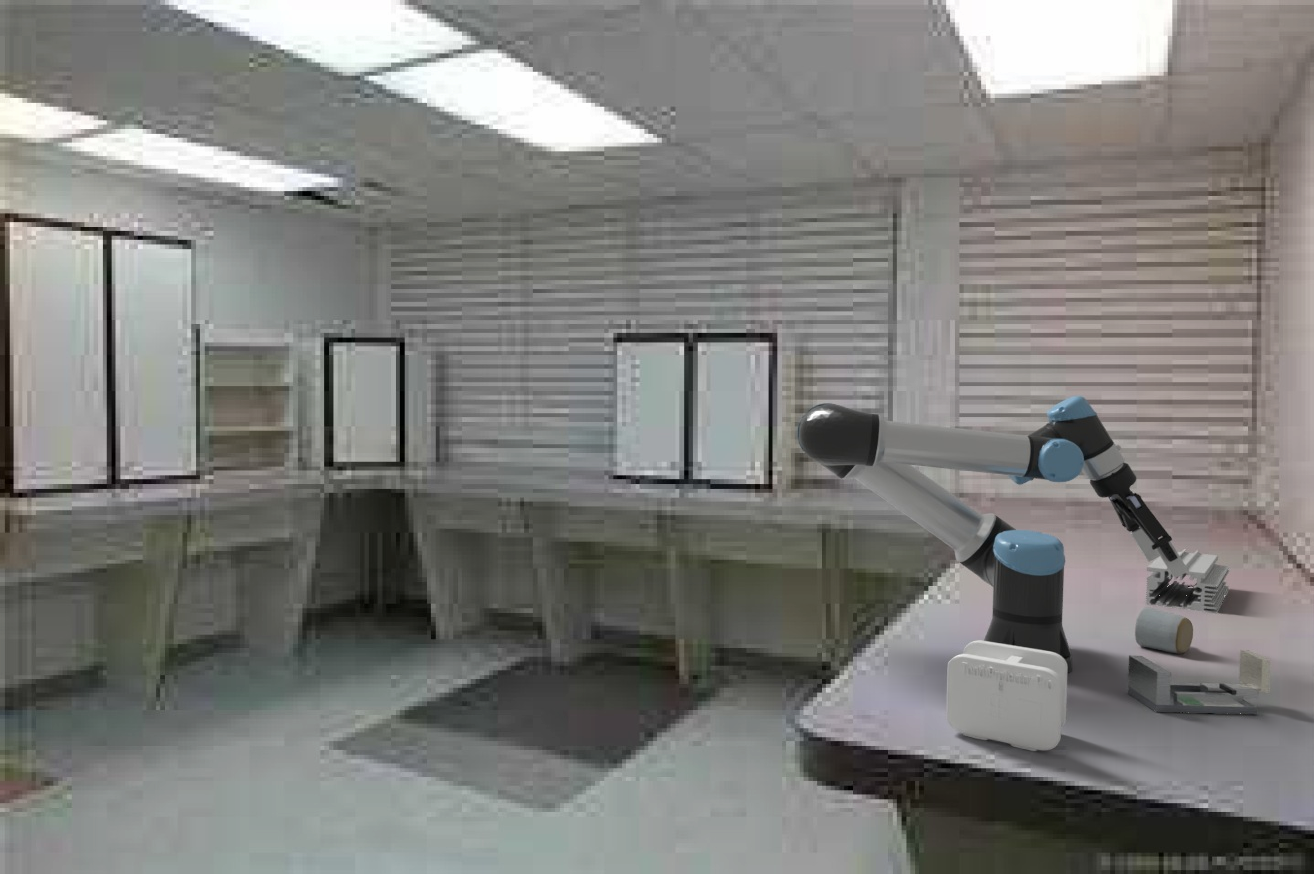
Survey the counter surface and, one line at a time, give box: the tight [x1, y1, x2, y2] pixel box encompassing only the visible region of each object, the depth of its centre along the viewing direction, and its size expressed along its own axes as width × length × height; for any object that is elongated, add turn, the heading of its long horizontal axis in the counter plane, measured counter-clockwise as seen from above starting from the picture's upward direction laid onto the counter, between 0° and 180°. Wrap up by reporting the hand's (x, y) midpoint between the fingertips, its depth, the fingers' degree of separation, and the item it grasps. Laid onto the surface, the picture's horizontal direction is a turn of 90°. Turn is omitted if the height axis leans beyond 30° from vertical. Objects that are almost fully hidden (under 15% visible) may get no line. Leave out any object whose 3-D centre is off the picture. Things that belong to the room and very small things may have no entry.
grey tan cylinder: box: [1134, 606, 1194, 655], centre depth 172 cm, size 11×8×8 cm
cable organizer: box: [945, 639, 1068, 752], centre depth 126 cm, size 15×11×12 cm
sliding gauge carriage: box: [1199, 649, 1271, 699], centre depth 139 cm, size 8×7×6 cm
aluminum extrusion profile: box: [1145, 548, 1230, 614], centre depth 218 cm, size 14×31×10 cm, turn 143°
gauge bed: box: [1127, 655, 1259, 715], centre depth 140 cm, size 15×9×6 cm, turn 87°
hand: (1167, 566), depth 170 cm, fingers open, 13 cm apart
